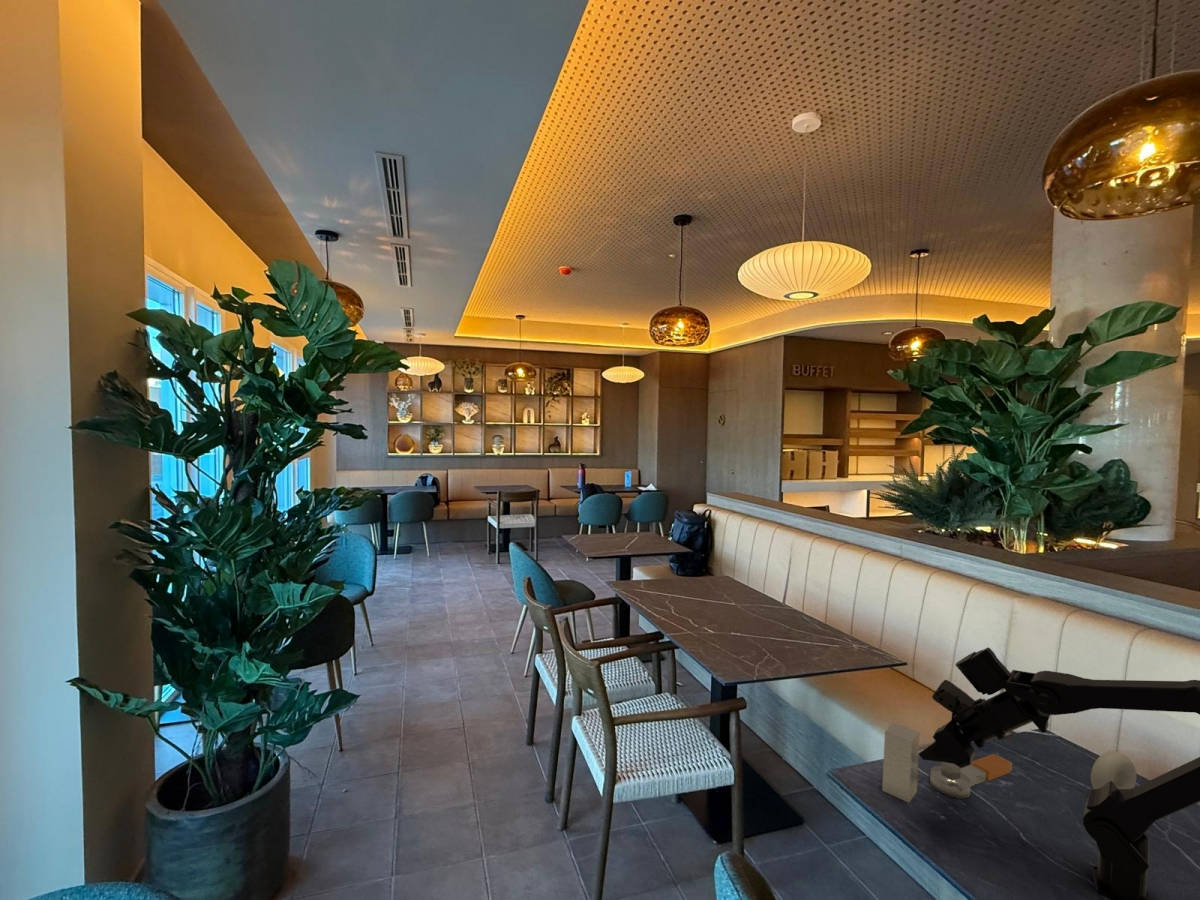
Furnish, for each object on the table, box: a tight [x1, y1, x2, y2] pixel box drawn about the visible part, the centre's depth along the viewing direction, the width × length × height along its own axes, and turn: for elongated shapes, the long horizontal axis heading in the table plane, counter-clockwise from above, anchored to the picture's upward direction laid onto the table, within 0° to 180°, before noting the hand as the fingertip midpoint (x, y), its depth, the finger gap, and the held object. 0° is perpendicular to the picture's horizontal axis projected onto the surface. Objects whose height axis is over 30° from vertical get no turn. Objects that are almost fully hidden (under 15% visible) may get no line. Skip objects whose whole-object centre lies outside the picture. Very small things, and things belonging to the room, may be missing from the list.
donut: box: [1090, 750, 1137, 789], centre depth 111 cm, size 10×4×10 cm, turn 105°
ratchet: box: [929, 753, 1013, 799], centre depth 117 cm, size 22×7×5 cm, turn 114°
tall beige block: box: [881, 722, 920, 804], centre depth 112 cm, size 5×5×12 cm
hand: (927, 747), depth 108 cm, fingers open, 9 cm apart
